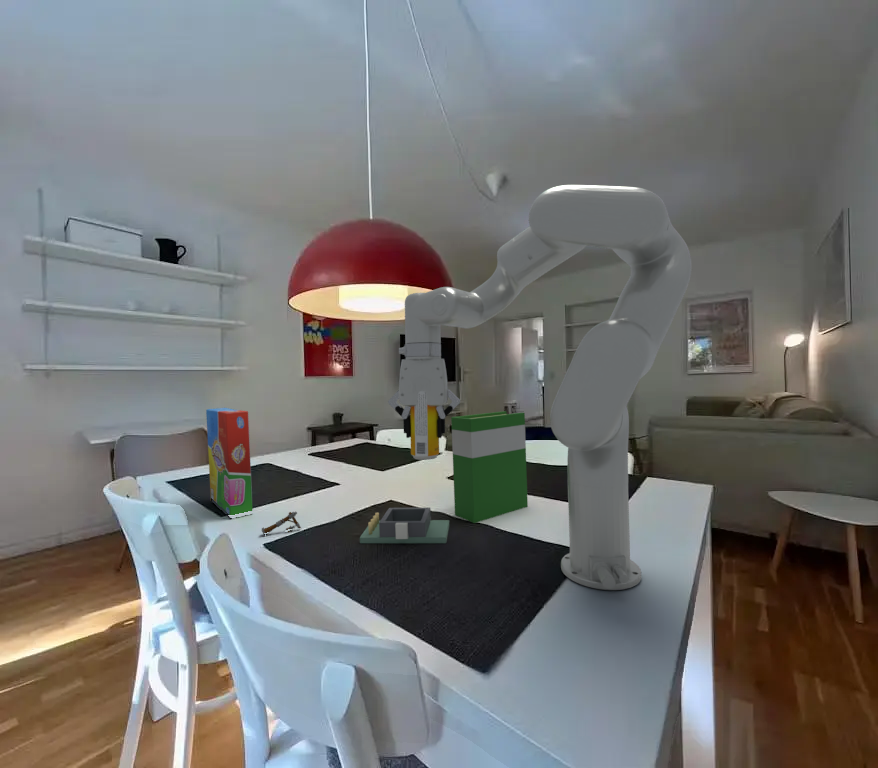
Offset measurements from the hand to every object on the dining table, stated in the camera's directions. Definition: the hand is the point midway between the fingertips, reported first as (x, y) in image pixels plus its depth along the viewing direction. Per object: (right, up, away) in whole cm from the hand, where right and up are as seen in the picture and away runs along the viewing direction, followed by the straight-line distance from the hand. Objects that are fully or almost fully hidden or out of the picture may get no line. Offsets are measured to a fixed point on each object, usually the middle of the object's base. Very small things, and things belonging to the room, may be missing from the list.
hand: (424, 436), depth 89 cm
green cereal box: (+16, -21, +15) cm, 30 cm away
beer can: (0, -5, 0) cm, 5 cm away
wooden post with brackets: (-33, -23, +5) cm, 40 cm away
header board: (-4, -22, +2) cm, 22 cm away
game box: (-54, -23, +25) cm, 64 cm away
